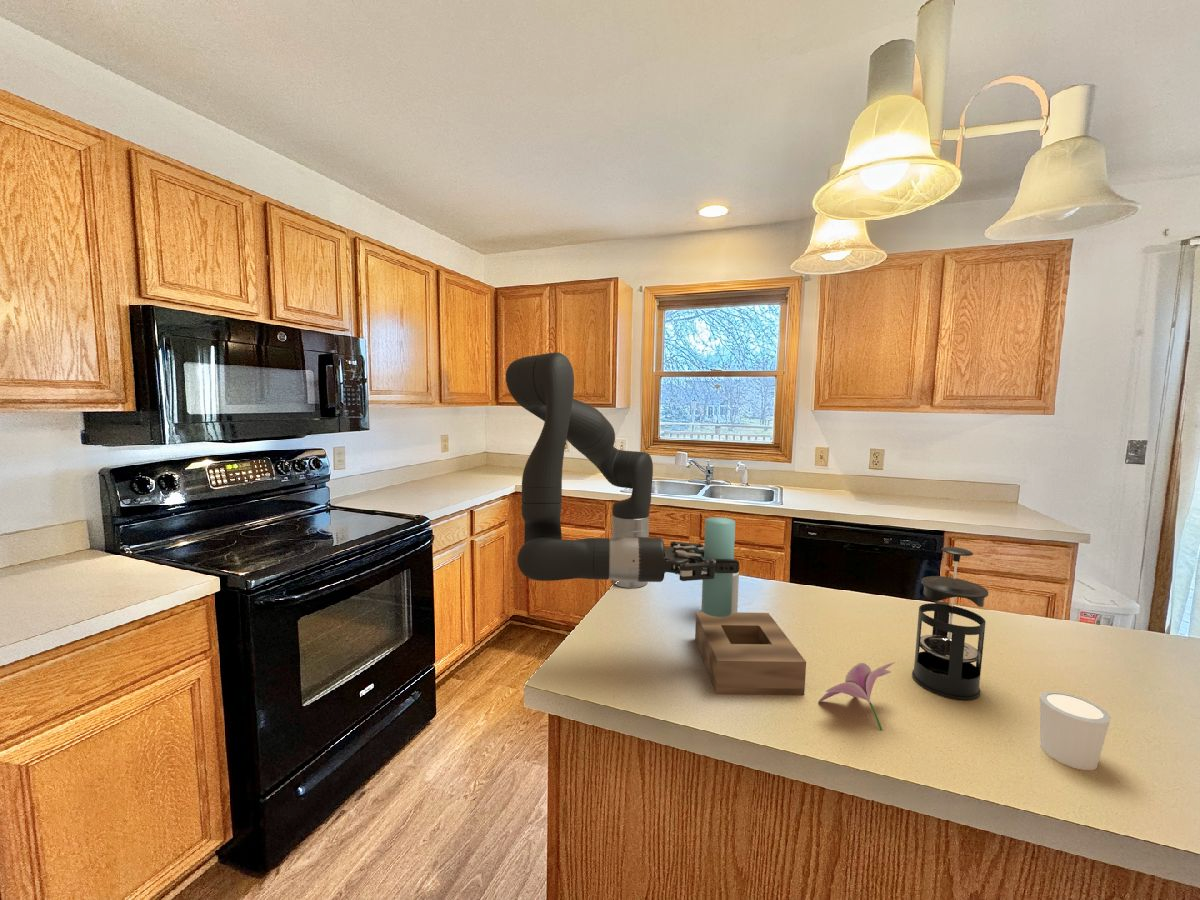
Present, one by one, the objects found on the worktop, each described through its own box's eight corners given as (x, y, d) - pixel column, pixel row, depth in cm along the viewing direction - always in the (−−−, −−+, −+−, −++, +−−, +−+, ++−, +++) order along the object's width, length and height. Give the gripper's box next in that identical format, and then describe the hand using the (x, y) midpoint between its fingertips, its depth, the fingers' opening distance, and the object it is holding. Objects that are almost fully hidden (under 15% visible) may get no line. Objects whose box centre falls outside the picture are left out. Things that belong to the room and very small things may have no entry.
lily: (902, 711, 78) (876, 646, 81) (935, 728, 67) (903, 652, 70) (825, 728, 79) (802, 664, 82) (844, 748, 68) (817, 673, 71)
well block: (695, 639, 98) (695, 611, 97) (767, 639, 98) (768, 612, 97) (716, 693, 80) (717, 660, 79) (804, 694, 80) (806, 661, 79)
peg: (699, 604, 90) (702, 517, 89) (727, 604, 90) (731, 517, 88) (705, 616, 85) (708, 524, 84) (734, 617, 85) (738, 524, 84)
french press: (990, 708, 77) (1005, 562, 74) (919, 695, 80) (931, 554, 78) (966, 670, 88) (979, 541, 85) (905, 659, 91) (915, 535, 89)
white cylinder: (1024, 733, 71) (1029, 686, 71) (1083, 743, 70) (1089, 695, 69) (1051, 767, 65) (1057, 716, 64) (1118, 779, 63) (1125, 727, 62)
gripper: (638, 550, 79) (746, 552, 79) (633, 527, 94) (725, 528, 94) (637, 596, 80) (744, 598, 80) (633, 566, 95) (723, 567, 94)
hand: (733, 560), depth 87 cm, fingers closed on peg, 5 cm apart
